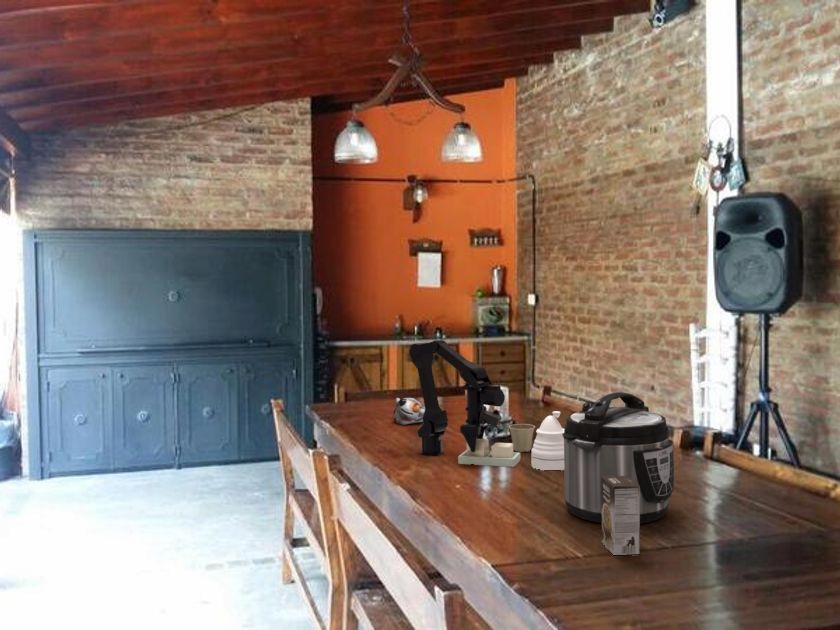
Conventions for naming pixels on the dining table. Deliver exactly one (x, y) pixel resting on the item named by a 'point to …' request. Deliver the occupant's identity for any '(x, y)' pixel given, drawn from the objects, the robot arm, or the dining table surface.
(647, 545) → the dining table surface
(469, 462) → the tray
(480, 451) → the maple cube
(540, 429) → the honey pot
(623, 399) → the pressure cooker
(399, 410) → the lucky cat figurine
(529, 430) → the flower pot
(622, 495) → the coffee box
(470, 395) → the robot arm
